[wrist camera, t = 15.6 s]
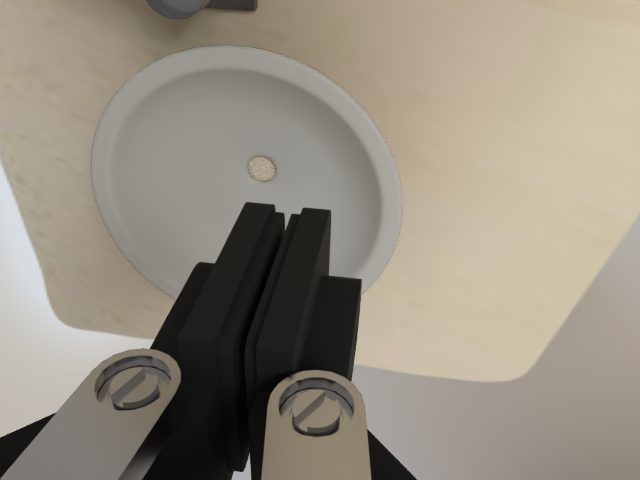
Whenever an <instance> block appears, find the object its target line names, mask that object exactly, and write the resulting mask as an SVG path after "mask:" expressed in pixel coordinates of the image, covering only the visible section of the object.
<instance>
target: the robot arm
mask: <svg viewBox="0 0 640 480" xmlns="http://www.w3.org/2000/svg"><path fill="white" fill-rule="evenodd" d="M330 239H331V210H327V209H316V208H306V207H303V209H302V211H301V214H291V216H290V219H289V222H288V225H287V227H286V230H285V214H284V213H282V212H276V209H275V205H274V204H264V203H254V202H246V203H245V204H244V206H243V208H242V210H241V212H240V214H239V216H238V218H237V220H236V222H235V224H234V226H233V228H232V230H231V232H230V234H229V236H228V238H227V240H226V242H225V244H224V246H223V248H222V250H221V252H220V254H219V256H218V258H217V260H216V262H215V263H207V262H199V263H197V264H196V266H195V267H194V268H193V270H192V272H191V274H190V276H189V278H188V279H187V281H186V283H185V285H184V287H183V289H182V290H181V292H180V294H179V296H178V298H177V300H176V301H175V303H174V305H173V307H172V309H171V311H170V313H169V314H168V316H167V318H166V320H165V322H164V324H163V325H162V327H161V329H160V331H159V333H158V335H157V336H156V338H155V340H154V342H153V344H152V346H151V347H150V349H134V350H128V351H124V352H121V353H118V354H115V355H113V356H112V357H110V358H108V359H106V360H104V361H102V362H101V363H100V364H99V365H98V366H97V367H96V368H95V369H94V370H93V371H92V372H91V373H90V374H89V375H88V376H87V377H86V379H85V380H84V381H83V382H82V383H81V385H80V386H79V387H78V388H77V389H76V390H75V392H74V393H73V394H72V395H71V396H70V397H69V399H68V400H67V401H66V402H65V403H64V404H63V406H62V407H61V408H60V409H59V410H58V412H56V413H54V414H52V415H50V416H48V417H45V418H43V419H41V420H39V421H36V422H34V423H32V424H30V425H27V426H25V427H23V428H21V429H19V430H16V431H14V432H12V433H10V434H7V435H5V436H3V437H1V438H0V480H231V478H232V475H233V472H234V471H239V472H243V471H244V469H245V467H246V463H247V460H248V456H249V453H250V462H251V480H417V479H416V478H415V477H414V476H413V475H412V474H411V473H410V472H409V471H408V470H407V469H406V468H405V467H404V466H403V465H402V464H401V463H400V462H399V461H398V460H397V459H396V458H395V457H394V456H393V455H392V454H391V453H390V452H389V451H388V450H387V449H386V448H385V447H384V446H383V445H382V444H381V443H380V442H379V441H378V439H377V438H375V436H374V435H372V433H371V432H370V431H369V430H368V429H367V425H366V413H365V404H364V401H363V398H362V395H361V393H360V392H359V390H358V389H357V388H356V386H355V385H354V384H353V383H351V380H352V373H353V365H354V358H355V350H356V342H357V333H358V324H359V313H360V301H361V288H362V279H357V278H347V277H338V276H329V263H330Z"/></svg>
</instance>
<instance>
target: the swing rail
mask: <svg viewBox="0 0 640 480" xmlns="http://www.w3.org/2000/svg"><path fill="white" fill-rule="evenodd" d="M146 1H147V2H148V4H149V5H150V6H151V7H152V8H153V9H154V10H155V11H156V12H158V13H159V14H161V15H162V16H165V17H167V18H171V19H184V18H188V17H190V16H192V15H193V14H194V13H196V12H197V11H198V10H200V9H201V8H203V7H204V6H205V5H206V4H207V3H208V2H209V1H210V0H146Z"/></svg>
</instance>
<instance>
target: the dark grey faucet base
mask: <svg viewBox="0 0 640 480" xmlns="http://www.w3.org/2000/svg"><path fill="white" fill-rule="evenodd" d="M204 7H209V8H225V9H241V10H256V9H257V0H210V1H209V2H208V3H207V4H206V5H205V6H204Z"/></svg>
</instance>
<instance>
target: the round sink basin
mask: <svg viewBox="0 0 640 480" xmlns="http://www.w3.org/2000/svg"><path fill="white" fill-rule="evenodd" d="M257 156H263V157H266V158H268V159H269V160H271V161H272V162H273V164H274V165H275V168H276V173H275V175H274V177H273V178H272V179H271V180H269V181H259V180H256V179H255V178H253V177H252V176H251V174H250V173H249V170H248V164H249V162H250V160H251V159H252V158H254V157H257ZM91 176H92V185H93V190H94V195H95V199H96V203H97V206H98V209H99V212H100V214H101V217H102V219H103V222H104V224H105V226H106V228H107V230H108V232H109V233H110V235H111V237H112V238H113V240H114V242H115V243H116V245H117V246H118V248H119V249H120V250H121V252H122V253H123V254H124V256H125V257H126V258H127V259H128V261H129V262H130V263H131V264H132V265H133V266H134V267H135V268H136V269H137V270H138V271H139V272H140V273H141V274H142V275H143V276H144V277H145V278H146V279H147V280H149V281H150V282H151V283H152V284H153V285H154V286H156V287H157V288H159V289H160V290H161V291H163V292H164V293H165V294H167V295H169V296H170V297H172V298H173V299H175V300H177V298H178V296H179V294H180V292H181V290H182V289H183V287H184V285H185V283H186V281H187V279H188V278H189V276H190V274H191V272H192V270H193V268H194V267H195V266H196V264H197V263H199V262H207V263H215V262H216V260H217V258H218V256H219V254H220V252H221V250H222V248H223V246H224V244H225V242H226V240H227V238H228V236H229V234H230V232H231V230H232V228H233V226H234V224H235V222H236V220H237V218H238V216H239V214H240V212H241V210H242V208H243V206H244V204H245V203H246V202H254V203H264V204H274V205H275V209H276V212H282V213H284V214H285V230H286V227H287V225H288V222H289V219H290V216H291V214H301V211H302V209H303V207H306V208H316V209H327V210H331V239H330V263H329V276H338V277H347V278H357V279H362V288H361V295H362V294H363V293H364V292H365V291H366V290H367V289H368V288H370V287H371V286H372V284H373V283H374V282H375V281H376V280H377V278H378V277H379V276H380V275H381V273H382V272H383V270H384V269H385V267H386V266H387V264H388V262H389V260H390V258H391V256H392V254H393V252H394V249H395V247H396V244H397V241H398V237H399V233H400V229H401V223H402V215H403V198H402V189H401V183H400V178H399V173H398V170H397V167H396V164H395V161H394V158H393V155H392V153H391V151H390V149H389V146H388V144H387V142H386V140H385V139H384V137H383V135H382V134H381V132H380V130H379V128H378V127H377V126H376V124H375V123H374V121H373V120H372V119H371V117H370V116H369V115H368V113H367V112H366V111H365V110H364V109H363V108H362V107H361V105H360V104H359V103H358V102H357V101H356V100H355V99H354V98H353V97H352V96H351V95H350V94H348V93H347V92H346V91H345V90H344V89H343V88H342V87H340V86H339V85H338V84H336V83H335V82H334V81H332V80H331V79H330V78H328V77H327V76H325V75H323V74H322V73H320V72H319V71H317V70H315V69H314V68H312V67H310V66H308V65H306V64H304V63H302V62H300V61H297V60H295V59H292V58H290V57H287V56H284V55H282V54H278V53H275V52H271V51H268V50H264V49H259V48H253V47H247V46H235V45H211V46H203V47H196V48H191V49H187V50H183V51H179V52H176V53H173V54H170V55H168V56H165V57H162V58H160V59H158V60H156V61H155V62H153V63H151V64H149V65H147V66H146V67H144V68H143V69H141V70H140V71H138V72H137V73H136V74H134V75H133V76H132V77H131V78H130V79H129V80H127V81H126V82H125V83H124V84H123V86H122V87H121V88H120V89H119V90H118V91H117V92H116V93H115V95H114V96H113V98H112V99H111V101H110V102H109V103H108V105H107V107H106V109H105V111H104V113H103V115H102V116H101V119H100V122H99V124H98V127H97V130H96V133H95V137H94V141H93V146H92V154H91Z"/></svg>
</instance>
